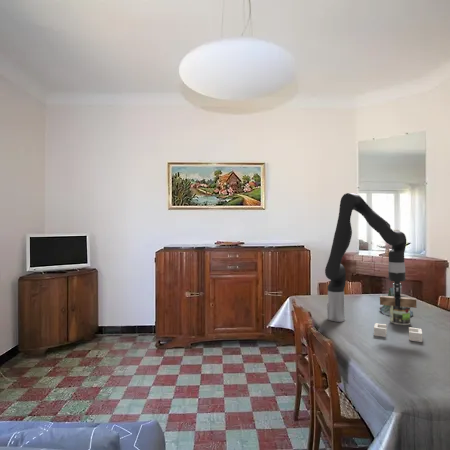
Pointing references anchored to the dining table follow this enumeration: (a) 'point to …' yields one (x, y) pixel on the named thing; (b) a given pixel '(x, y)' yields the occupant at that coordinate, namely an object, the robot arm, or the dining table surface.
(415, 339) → the end caps
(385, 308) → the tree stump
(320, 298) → the dining table surface
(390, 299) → the slat
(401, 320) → the coffee can
